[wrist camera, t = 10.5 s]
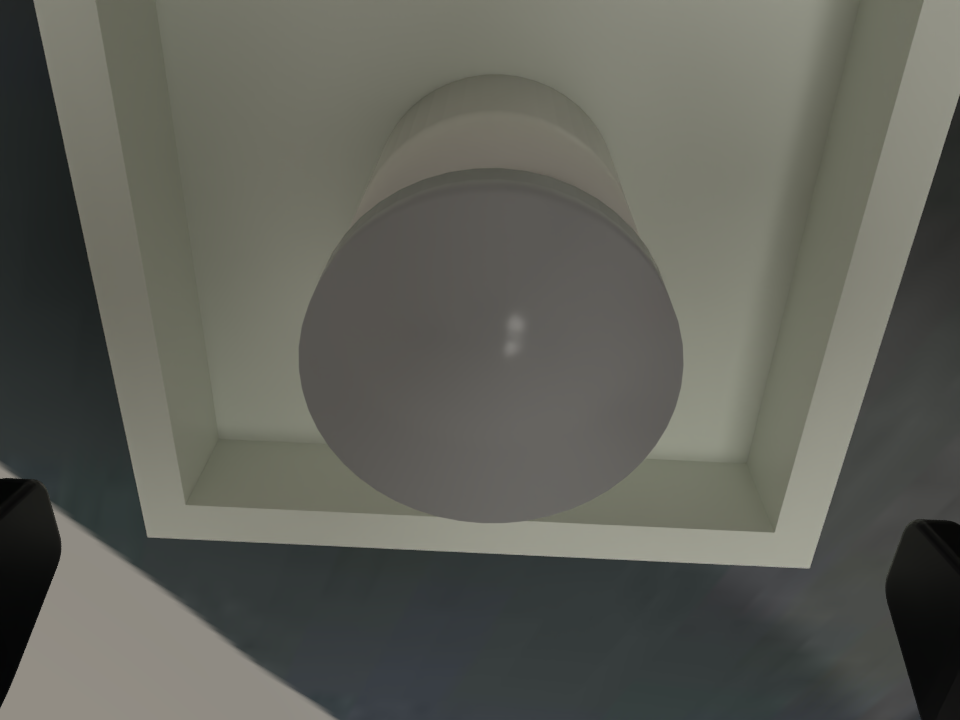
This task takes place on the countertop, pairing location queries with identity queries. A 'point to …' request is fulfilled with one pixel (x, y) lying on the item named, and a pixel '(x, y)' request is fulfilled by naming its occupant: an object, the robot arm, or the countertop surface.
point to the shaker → (492, 313)
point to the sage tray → (647, 187)
